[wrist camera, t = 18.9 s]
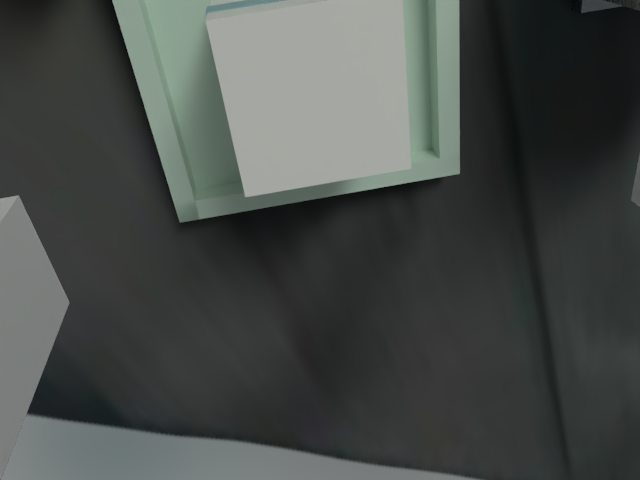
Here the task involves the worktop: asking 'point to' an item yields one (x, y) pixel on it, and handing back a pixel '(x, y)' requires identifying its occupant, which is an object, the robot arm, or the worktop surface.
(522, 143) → the worktop surface
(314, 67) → the block
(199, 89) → the tray
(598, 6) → the box
